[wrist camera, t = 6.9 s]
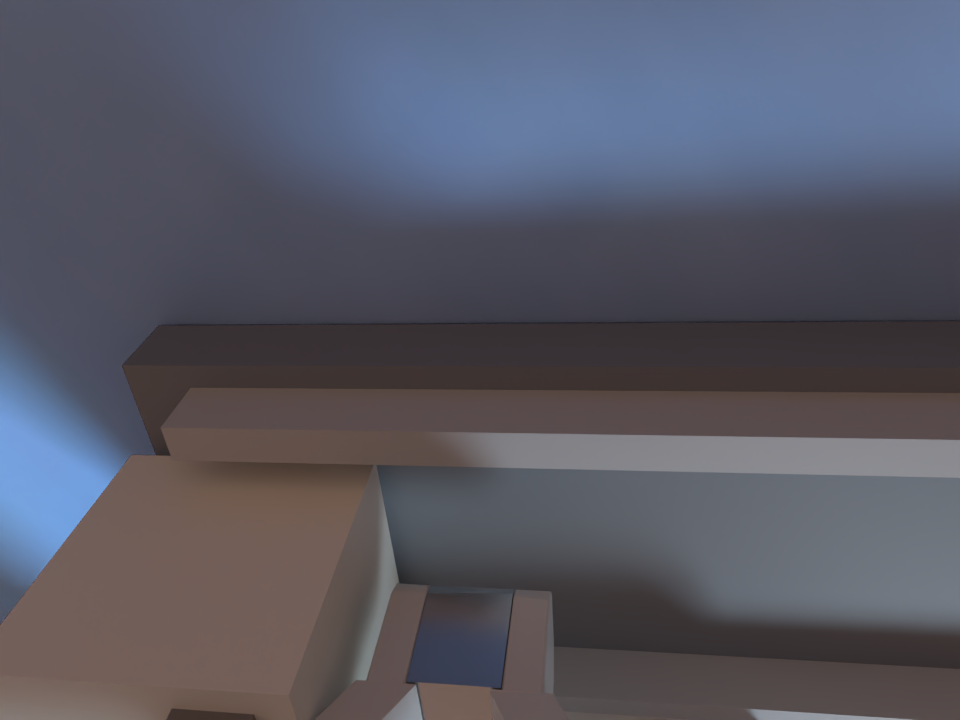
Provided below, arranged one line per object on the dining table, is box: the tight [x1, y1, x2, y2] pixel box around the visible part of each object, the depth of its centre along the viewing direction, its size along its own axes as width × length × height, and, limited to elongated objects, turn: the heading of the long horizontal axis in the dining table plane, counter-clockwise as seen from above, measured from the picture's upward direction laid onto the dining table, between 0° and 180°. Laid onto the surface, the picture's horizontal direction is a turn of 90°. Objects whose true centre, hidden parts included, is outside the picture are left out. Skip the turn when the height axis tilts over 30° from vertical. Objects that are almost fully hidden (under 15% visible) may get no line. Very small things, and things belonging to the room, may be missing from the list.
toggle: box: [0, 455, 399, 720], centre depth 12 cm, size 4×4×4 cm
